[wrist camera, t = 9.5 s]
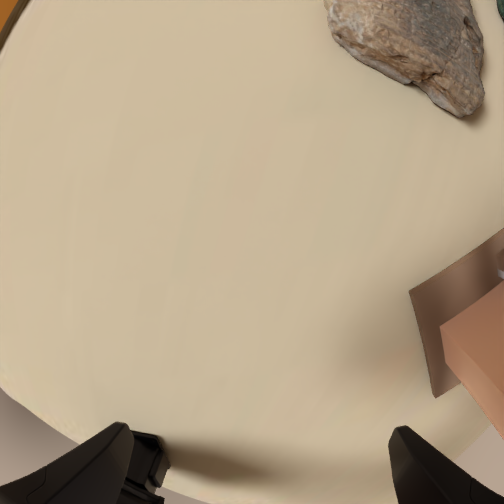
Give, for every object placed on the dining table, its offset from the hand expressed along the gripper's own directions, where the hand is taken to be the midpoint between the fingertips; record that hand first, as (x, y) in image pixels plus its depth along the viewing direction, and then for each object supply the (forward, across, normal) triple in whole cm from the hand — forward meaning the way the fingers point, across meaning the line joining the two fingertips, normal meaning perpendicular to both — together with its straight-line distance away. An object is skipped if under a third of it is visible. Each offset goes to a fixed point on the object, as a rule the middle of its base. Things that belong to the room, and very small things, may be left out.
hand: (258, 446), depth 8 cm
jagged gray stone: (+14, -13, -24) cm, 31 cm away
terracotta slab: (+13, -20, +3) cm, 24 cm away
